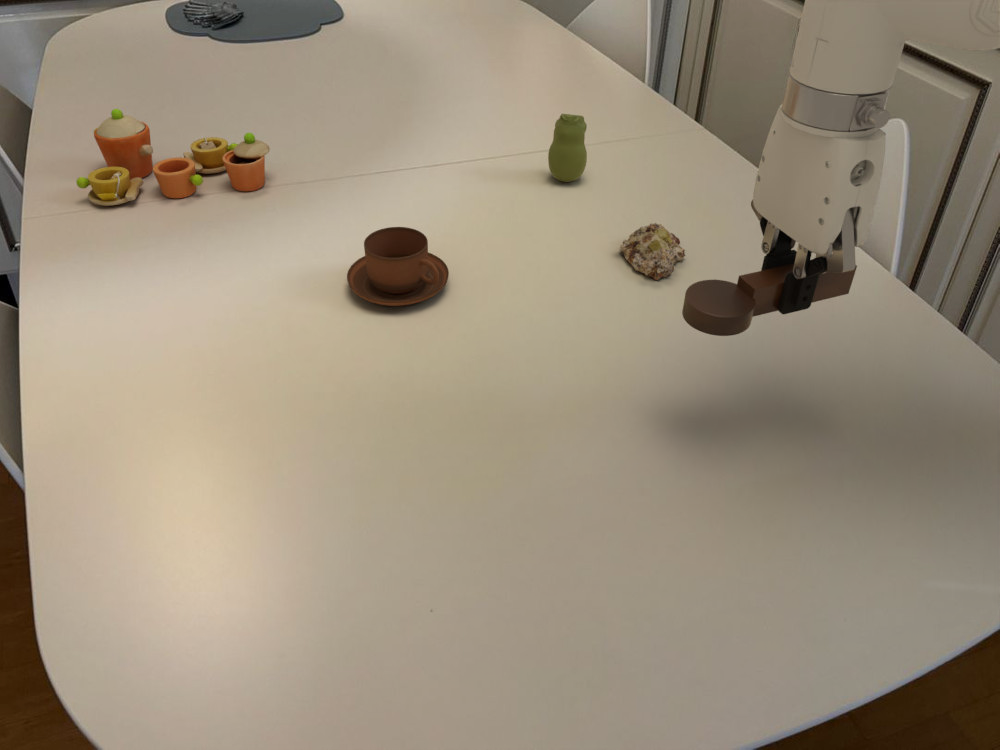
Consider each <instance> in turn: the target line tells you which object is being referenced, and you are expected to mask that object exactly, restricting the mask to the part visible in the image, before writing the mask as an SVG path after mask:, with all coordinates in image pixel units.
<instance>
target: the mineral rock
mask: <svg viewBox="0 0 1000 750" xmlns="http://www.w3.org/2000/svg"><path fill="white" fill-rule="evenodd" d="M619 250H620V251H622V254H624V255H623V256H624V258H625V260H626V261H627V262H628V263H629V264H630V265H631V267H632V268H633V269H634V271H636V272H640V273H641V274H644V275H645V276H646V277H648V278H649V277H651V278H652V279H653V280H655V281H658V280H660V279H661V278H666V277H669V276H672V274H673V271H674V270H675V264H676V263H677V262H681V261H683V259H684V257H685V256H686V254H685V253H686V249H684V248H683V247H682V246H681V241H680V238H679V237H677V236H676V235H675V234H674V233H672V232H671V231H669V230H668V229H667V228H666V227H665V226H664V225H663V224H661V223H657V222H654V223H651V222H650V223H649V224H648V225H644V226H640V227H639V228H638V229H636V230H634V232H632V233H630V234H629V237H628V239H624V240H622V244H621V245H620V246H619Z"/></svg>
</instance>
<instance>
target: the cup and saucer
mask: <svg viewBox="0 0 1000 750" xmlns="http://www.w3.org/2000/svg"><path fill="white" fill-rule="evenodd" d="M363 249H364V250H363V251H364V256H362V257H360V258H358V259H357V260H356V261H354V262H353V264H351V265H350V266H349V268H348V270H347V273H346V280H347V284H348V286H349V288H350V289H351V291H352V292H353V293H354V294H355V295H356V296H359V297H360V298H362V299H363V300H365V301H367V302H370V303H372V304H377V305H379V306H381V305H382V306H387V307H388V306H389V307H402V306H410V305H415V304H418V303H422V302H425V301H426V300H428V299H429V300H430V299H431V298H433V297H434V296H435V295H437V294H438V293H439V292H440V291H442V290H443V289H444V287H445V286H446V285H447V283H448V280H449V275H450V274H449V273H450V272H449V268H448V265H447V264H446V263H445V261H444V260H443V259H442V258H440V257H439V256H437V255H436V254H433V253H431V252H429V241H428V238H427V236H426V235H425V234H424V233H423V232H421V231H420V230H418V229H415V228H411V227H407V226H406V227H405V226H390V227H384V228H380V229H378V230H374V231H372V232H371V233H370V234H368V235H367V237H366V238H365V239H364V241H363Z"/></svg>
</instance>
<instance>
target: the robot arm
mask: <svg viewBox="0 0 1000 750" xmlns="http://www.w3.org/2000/svg"><path fill="white" fill-rule="evenodd" d="M798 27H799V28H798V32H797V36H796V41H795V45H794V49H793V53H792V58H791V62H790V67H789V73H788V77H787V80H786V81H787V82H786V87H785V91H784V95H783V100H782V103H781V104H780V105H779V107H778V109H777V112H776V113H775V116H774V118H773V121H772V124H771V126H770V129H769V131H768V134H767V137H766V141H765V143H764V147H763V149H762V154H761V157H760V161H759V165H758V169H757V171H756V177H755V181H754V187H753V195H752V196H753V197H752V200H751V202H750V207H751V209H752V211H753V213H754V214H755V216H756V218H757V220H758V221H759V227H760V230H761V233H762V237H763V238H762V241H761V244H760V245H761V247H760V249H761V251H762V253H763V254H765V255H764V257H763V261H762V266H761V270H760V271H763V270H767V269H772V268H777V267H781V266H786V265H790V264H794V267H793V272H792V273H788V274H787V275H786V277H785V281H784V286H783V290H782V294H781V298H780V302H779V306H778V311H777V312H779V313H780V314H781V315H787V314H792V313H795V312H800V311H804V310H808V309H809V308H810V307H811V306H812V303H813V302H812V299H813V296H814V292H815V289H816V285H817V282H818V278H819V275H820V274H824V273H826V272H834V273H843V272H847V271H852V270H854V269H855V265H857V263H856V248H858V247H862V246H863V245H864V244H865V242H866V241H867V238H868V235H869V233H870V229H871V226H872V221H873V218H874V215H875V210H876V206H877V203H878V197H879V193H880V188H881V183H882V177H883V172H884V165H885V157H886V155H885V154H886V141H887V140H886V136H887V134H886V132H885V131H884V130H882V128H884V127H885V126H886V125H887V124H888V122H889V121H890V117H891V114H890V111H888V110H886V107H887V103H888V100H889V97H890V93H891V90H892V86H893V84H894V80H895V77H896V74H897V70H898V67H899V64H900V61H901V57H902V53H903V50H904V47H905V44H906V41H913V42H920V43H926V44H931V45H935V46H941V47H945V48H950V49H955V50H960V51H970V52H980V51H981V52H984V51H993V50H999V49H1000V0H804V4H803V9H802V12H801V18H800V23H799V26H798ZM796 243H797V249H796V250H795V249H794V248H795V246H796ZM812 254H815V257H814V258H812ZM811 258H812V259H811Z"/></svg>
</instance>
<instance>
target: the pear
mask: <svg viewBox="0 0 1000 750" xmlns="http://www.w3.org/2000/svg"><path fill="white" fill-rule="evenodd" d="M586 131H587V123H586V122H585V118H584V116H583V115H579V114H576V115H575V114H569V113H561V114H560V116H559V117H558V119H557V120H556V121H555V124H554V129H553V135H552V136H553V138H552V142H551V144H550V146H549V149H548V153H547V155H548V156H547V161H548V168H549V171H550V173H551V175H552V176H553V177H554V178H555V179H556V180H558V181H560V182H563V183H564V182H565V183H570V182H574V181H576V180H578V179H579V178H581V176H583V174H584V172H585V169H586V167H587V162H588V161H587V159H588V154H587V153H588V152H587V148H586V144H585V139H586V135H585V134H586Z"/></svg>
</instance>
